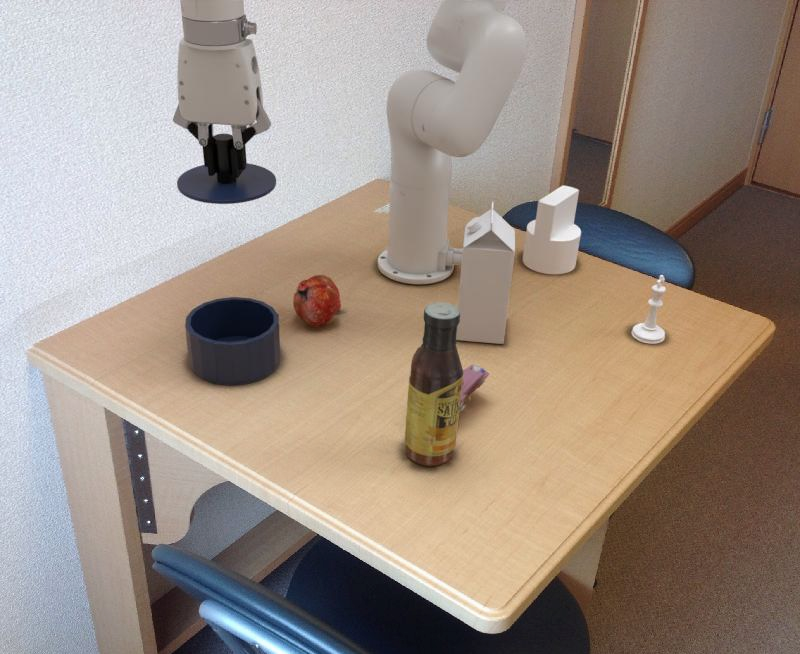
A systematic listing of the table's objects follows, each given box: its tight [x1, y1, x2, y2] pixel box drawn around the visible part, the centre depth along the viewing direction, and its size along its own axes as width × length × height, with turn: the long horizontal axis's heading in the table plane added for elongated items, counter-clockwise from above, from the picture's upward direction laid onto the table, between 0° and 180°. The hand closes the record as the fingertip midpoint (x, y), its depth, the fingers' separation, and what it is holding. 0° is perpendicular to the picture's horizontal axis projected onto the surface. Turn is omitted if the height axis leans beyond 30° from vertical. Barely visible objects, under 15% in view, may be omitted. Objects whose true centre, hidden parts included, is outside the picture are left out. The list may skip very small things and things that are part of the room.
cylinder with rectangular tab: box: [522, 184, 582, 275], centre depth 153 cm, size 9×9×12 cm
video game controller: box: [459, 363, 490, 413], centre depth 119 cm, size 10×5×7 cm, turn 148°
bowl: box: [184, 296, 281, 386], centre depth 126 cm, size 12×13×6 cm
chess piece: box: [631, 274, 667, 345], centre depth 135 cm, size 5×5×10 cm
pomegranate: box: [292, 274, 342, 328], centre depth 136 cm, size 7×7×10 cm
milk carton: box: [456, 201, 516, 345], centre depth 131 cm, size 7×7×19 cm
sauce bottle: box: [404, 301, 464, 467], centre depth 107 cm, size 6×6×20 cm
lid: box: [176, 133, 277, 205], centre depth 123 cm, size 13×13×7 cm
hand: (226, 171), depth 123 cm, fingers closed on lid, 2 cm apart
